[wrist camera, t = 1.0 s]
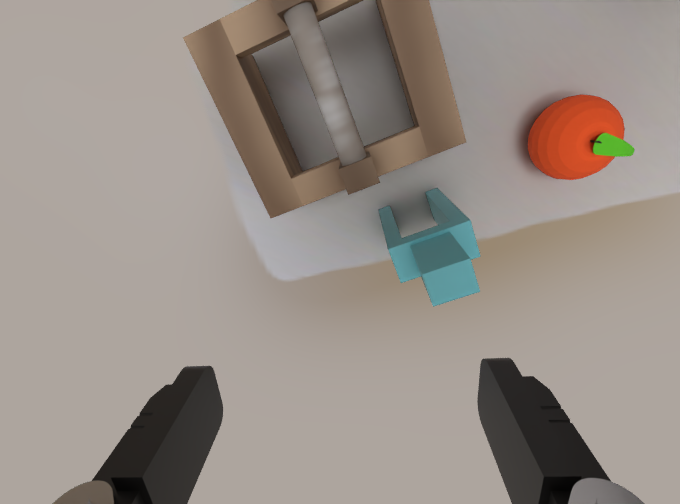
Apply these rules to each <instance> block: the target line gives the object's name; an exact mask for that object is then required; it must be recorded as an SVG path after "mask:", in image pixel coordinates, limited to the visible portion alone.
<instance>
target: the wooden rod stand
mask: <svg viewBox="0 0 680 504" xmlns="http://www.w3.org/2000/svg"><path fill="white" fill-rule="evenodd" d="M361 1H363V0H257V1H255V2H253V3H251V4H249V5H247V6H245V7H243V8H241V9H239V10H237V11H235V12H233V13H231V14H229V15H227V16H225V17H223V18H221V19H219V20H217V21H215V22H213V23H211V24H209V25H207V26H205V27H203V28H201V29H199V30H197V31H195V32H193V33H191V34H189V35H188V36H185V37H184V38H183V39H184V41H185V43H186V45H187V47H188V49H189V51H190V53H191V55H192V57H193V59H194V61H195V63H196V65H197V68H198V70H199V72H200V74H201V76H202V78H203V80H204V82H205V84H206V86H207V88H208V90H209V92H210V94H211V96H212V98H213V100H214V103H215V105H216V107H217V109H218V111H219V113H220V115H221V117H222V119H223V121H224V123H225V125H226V127H227V129H228V131H229V133H230V136H231V138H232V140H233V142H234V144H235V146H236V148H237V150H238V152H239V154H240V156H241V158H242V160H243V162H244V164H245V166H246V168H247V171H248V173H249V175H250V177H251V179H252V181H253V183H254V185H255V187H256V189H257V191H258V193H259V195H260V197H261V199H262V201H263V203H264V206H265V208H266V210H267V212H268V214H269V216H270V218H273V217H276V216H278V215H281V214H284V213H286V212H289V211H291V210H294V209H296V208H299V207H301V206H304V205H307V204H309V203H312V202H314V201H317V200H319V199H322V198H325V197H327V196H330V195H332V194H335V193H337V192H340V191H342V190H345V189H346V190H347V192H348V195H349V194H352V193H354V192H357V191H359V190H362V189H365V188H367V187H370V186H372V185H375V184H378V183H380V181H379V178H378V176H381V175H383V174H386V173H389V172H391V171H394V170H396V169H399V168H401V167H404V166H406V165H409V164H412V163H414V162H417V161H419V160H422V159H424V158H427V157H430V156H432V155H435V154H437V153H440V152H442V151H445V150H447V149H450V148H453V147H455V146H458V145H460V144H463V143H465V142H466V139H465V135H464V131H463V128H462V124H461V120H460V116H459V112H458V109H457V105H456V101H455V97H454V94H453V90H452V86H451V82H450V79H449V75H448V71H447V67H446V63H445V60H444V56H443V52H442V48H441V45H440V41H439V37H438V33H437V29H436V26H435V22H434V18H433V14H432V11H431V7H430V3H429V0H376V3H377V6H378V10H379V13H380V16H381V19H382V23H383V26H384V29H385V32H386V36H387V39H388V42H389V45H390V48H391V52H392V55H393V58H394V61H395V65H396V68H397V71H398V74H399V78H400V81H401V84H402V87H403V90H404V94H405V97H406V100H407V103H408V107H409V110H410V113H411V116H412V120H413V123H414V127H411V128H409V129H406V130H404V131H401V132H399V133H396V134H394V135H392V136H389V137H387V138H384V139H382V140H379V141H377V142H374V143H372V144H369V145H367V146H365V147H363V144H362V141H361V138H360V136H359V133H358V130H357V127H356V125H355V122H354V119H353V116H352V114H351V111H350V108H349V105H348V103H347V100H346V97H345V94H344V92H343V89H342V86H341V83H340V81H339V78H338V75H337V73H336V70H335V67H334V64H333V62H332V59H331V56H330V53H329V51H328V48H327V45H326V42H325V40H324V37H323V34H322V31H321V29H320V26H319V23H318V22H319V21H321V20H323V19H325V18H327V17H329V16H332V15H334V14H336V13H338V12H340V11H342V10H344V9H346V8H348V7H350V6H352V5H355V4H357V3H359V2H361ZM290 35H291V36H292V39H293V42H294V44H295V47H296V49H297V52H298V54H299V57H300V59H301V62H302V65H303V67H304V70H305V72H306V75H307V77H308V80H309V82H310V85H311V88H312V90H313V93H314V95H315V98H316V100H317V103H318V105H319V108H320V111H321V113H322V116H323V118H324V121H325V123H326V126H327V128H328V131H329V134H330V136H331V139H332V141H333V144H334V146H335V149H336V151H337V154H338V158H335V159H333V160H330V161H328V162H325V163H323V164H320V165H318V166H315V167H313V168H311V169H308V170H306V171H302V169H301V166H300V164H299V162H298V159H297V157H296V155H295V153H294V150H293V148H292V146H291V143H290V141H289V139H288V136H287V134H286V132H285V129H284V127H283V125H282V122H281V120H280V118H279V116H278V113H277V111H276V109H275V106H274V104H273V102H272V99H271V97H270V95H269V92H268V90H267V88H266V85H265V83H264V81H263V78H262V76H261V74H260V72H259V69H258V67H257V65H256V62H255V60H254V58H253V56H252V55H251V54H252V53H254V52H256V51H259V50H261V49H263V48H265V47H267V46H269V45H271V44H273V43H275V42H277V41H279V40H282V39H284V38H286V37H288V36H290Z"/></svg>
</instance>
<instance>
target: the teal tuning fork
mask: <svg viewBox="0 0 680 504" xmlns="http://www.w3.org/2000/svg"><path fill="white" fill-rule="evenodd" d="M425 193H426V196H427V199H428V202H429V205H430V209H431V212H432V215H433V218H434V220H435V221H436V223H437V224H438V226H435V227H432V228H429V229H427V230H424V231H421V232H418V233H415V234H413V235H410V236H407V237H404V238H401V235H400V233H399V230H398V227H397V225H396V222H395V219H394V216H393V214H392V211H391V208H390V206H387V207H384V208H382V209H379V214H380V218H381V222H382V226H383V230H384V234H385V238H386V242H387V246H388V250H389V253H390V255H391V258H392V261H393V263H394V266H395V269H396V271H397V274H398V276H399V279H400V282H401V283H403V282H406V281H409V280H412V279H415V278H417V277H422V280H423V282H424V285H425V287H426V290H427V292H428V295H429V297H430V300H431V302H432V305H433V306H436V305H440V304H443V303H446V302H449V301H452V300H455V299H458V298H462V297H465V296H468V295H471V294H474V293H477V292H480V290H479V286H478V283H477V279H476V276H475V272H474V269H473V266H472V262H471V259H474V258H477V257H480V253H479V249H478V246H477V242H476V238H475V235H474V231H473V228H472V224H471V221H470V219H469V218H468V217H466V216H465V215H464V214H463V213H462V212H461V211H460V210H459V209H458V208H457V207H456V206H455V205H454V204H453V203H452V202H451V201H450V200H449V199H448V198H447V197H446V196H445V195H444V194H443V193H442V192H441V191H440V190H439V189H438V188H435V189H432V190H430V191H427V192H425Z"/></svg>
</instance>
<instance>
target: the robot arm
mask: <svg viewBox="0 0 680 504" xmlns="http://www.w3.org/2000/svg"><path fill="white" fill-rule="evenodd" d="M478 411H479V416H480V420H481V423H482V426H483V429H484V431H485V434H486V436H487V439H488V442H489V444H490V447H491V449H492V452H493V455H494V457H495V460H496V463H497V465H498V468H499V471H500V473H501V476H502V478H503V481H504V484H505V486H506V488H507V492H508V494H509V497H510V499H511V502H512V504H644V503H643V502H642V501H641V500H640V499H639V498H638V497H636V496H635V495H634V494H633V493H631V492H630V491H628V490H626V489H625V488H623V487H622V486H620V485H618V484H615V483H613V482H611V480H610V479H609V478H608V476H607V475H606V473H605V472H604V470H603V469H602V467H601V466H600V464H599V463H598V462H597V460H596V458H595V457H594V455H593V454H592V452H591V451H590V449H589V448H588V446H587V445H586V443H585V442H584V440H583V439H582V437H581V436H580V434H579V433H578V431H577V430H576V428H575V427H574V425H573V424H572V423H570V419H569V418H568V416H567V415H566V413H565V412H564V410H563V409H561V406H560V404H559V403H558V401H557V400H556V398H555V397H554V395H553V394H552V392H551V391H550V389H548V388H547V387H546V386H544V385H543V384H542V383H541V382H540V381H538V380H537V379H536V378H535V377H533V376H529V377H522V375H521V374H520V372H519V370H518V368H517V367H516V365H515V364H514V362H513V360H511V359H510V358H494V359H482V361H481V366H480V378H479V390H478ZM222 417H223V404H222V400H221V396H220V392H219V389H218V384H217V380H216V377H215V373H214V370H213V368H212V367H211V366H190V367H185V368H183V369H182V371H181V372H180V374H179V375H178V376H177V378H176V380H175V381H174V383H173V384H172V385H165V386H164V387H163V388H162V389H161V390H159V391H158V392H157V393H156V394H155V395H154V396H152V397H151V398H150V399H149V401H148V402H147V404H146V405H145V406H144V408H143V409H142V411H141V412H140V416H137V418H136V419H135V420H134V422H133V423H132V425H131V428H130V429H128V430H127V432H126V433H125V435H124V436H123V437H122V439H121V440H120V442H119V443H118V445H117V446H116V447H115V449H114V450H113V452H112V453H111V455H110V456H109V457H108V459H107V460H106V462H105V463H104V464H103V466H102V467H101V469H100V470H99V471H98V473H97V474H96V476H95V477H94V478H93V480H92V481H90V482H86V483H83V484H81V485H78V486H76V487H74V488H73V489H71V490H69V491H68V492H66V493H65V494H63V495H62V496H61V497H60V498H58V499H57V500H56V501H55V502H54V503H53V504H187V503H188V500H189V498H190V496H191V493H192V491H193V489H194V486H195V484H196V482H197V479H198V477H199V475H200V472H201V470H202V468H203V465H204V463H205V461H206V458H207V456H208V454H209V451H210V449H211V447H212V444H213V442H214V440H215V437H216V435H217V433H218V430H219V428H220V426H221V422H222Z"/></svg>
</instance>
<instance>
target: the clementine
mask: <svg viewBox="0 0 680 504" xmlns="http://www.w3.org/2000/svg"><path fill="white" fill-rule="evenodd" d="M623 139H624V123H623V119H622V117H621V115H620V113H619V111H618V110H617V109H616V108H615V107H614V106H613V105H612V104H611V103H610V102H609V101H607V100H605V99H602V98H600V97H597V96H591V95H576V96H571V97H567V98H564V99H562V100H559V101H557V102H555V103H553V104H552V105H550V106H549V107H548V108H546V109H545V110H544V111H543V112H542V113H541V114H540V116H539V117H538V118H537V119H536V120H535V122H534V124H533V126H532V128H531V130H530V133H529V137H528V151H529V154H530V158H531V160H532V162H533V163H534V165H535V166H536V167H537V168H538V169H539V170H541V171H542V172H543V173H545V174H546V175H548V176H551V177H553V178H556V179H567V180H574V179H580V178H584V177H587V176H589V175H591V174H594V173H596V172H598V171H600V170H601V169H603V168H604V167H606V166H607V165H608V164H609V163H610V162H611V161H612V160H613V159H614V157H615V156H631V155H633V153H634V148H633V147H632V146H631V145H630V144H628V143H627V142H625V141H624V140H623Z"/></svg>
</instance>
